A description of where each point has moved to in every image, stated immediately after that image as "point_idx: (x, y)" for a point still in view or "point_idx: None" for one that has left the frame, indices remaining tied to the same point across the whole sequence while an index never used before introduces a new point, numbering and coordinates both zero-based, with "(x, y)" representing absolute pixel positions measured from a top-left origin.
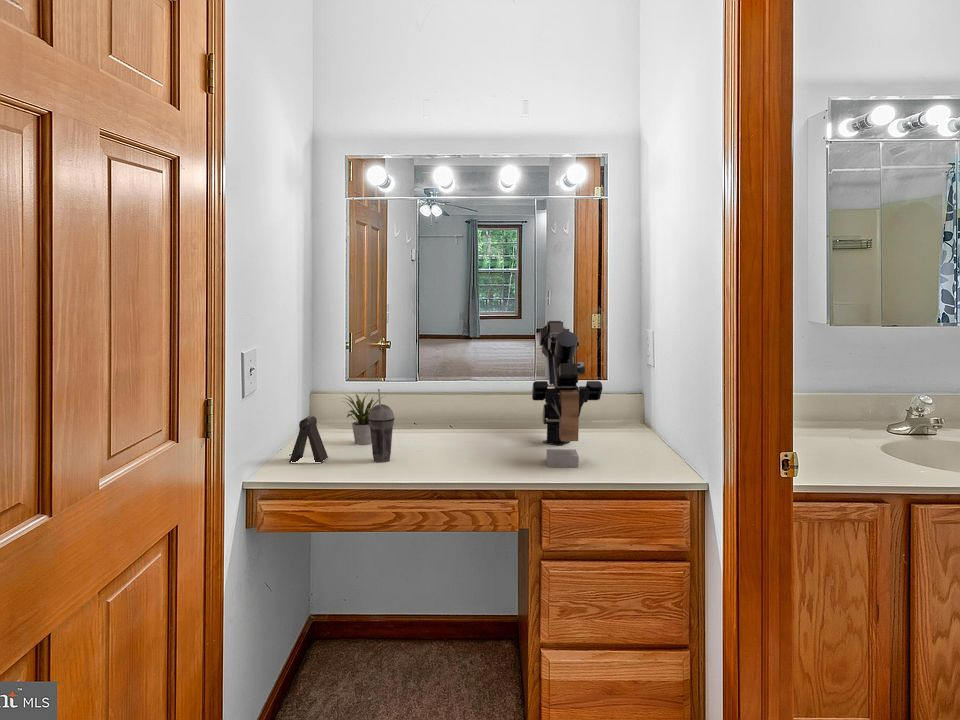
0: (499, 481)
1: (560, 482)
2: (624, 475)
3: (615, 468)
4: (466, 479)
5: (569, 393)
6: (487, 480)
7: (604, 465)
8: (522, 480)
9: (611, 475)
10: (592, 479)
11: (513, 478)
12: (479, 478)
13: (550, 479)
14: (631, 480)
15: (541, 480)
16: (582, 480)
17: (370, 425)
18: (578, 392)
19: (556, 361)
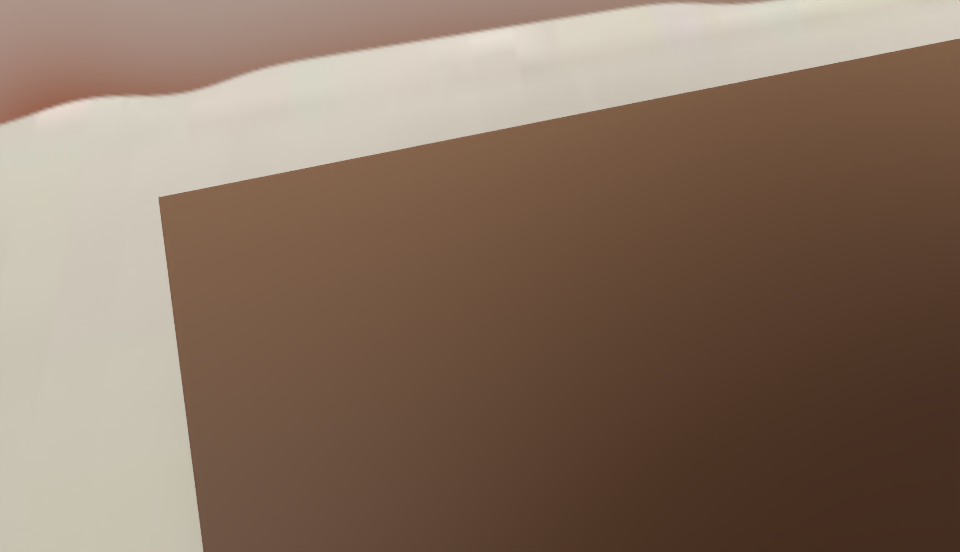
0: (778, 5)
1: (466, 39)
2: (59, 258)
3: (99, 444)
4: (943, 10)
5: (669, 108)
6: (840, 11)
7: (181, 524)
8: (673, 40)
9: (153, 239)
10: (285, 126)
11: (730, 66)
12: (894, 37)
13: (530, 83)
14: (32, 150)
15: (575, 57)
16: (345, 96)
17: None
18: (189, 336)
19: None
